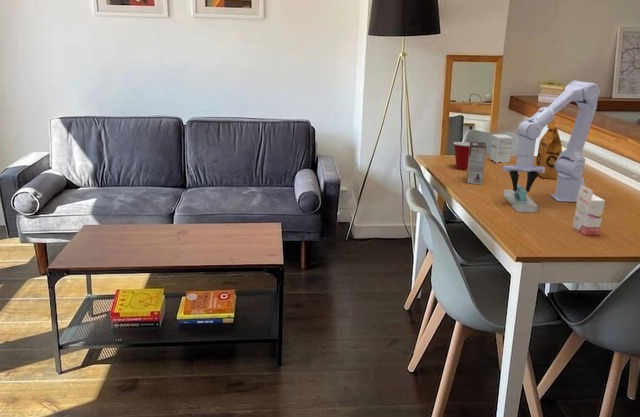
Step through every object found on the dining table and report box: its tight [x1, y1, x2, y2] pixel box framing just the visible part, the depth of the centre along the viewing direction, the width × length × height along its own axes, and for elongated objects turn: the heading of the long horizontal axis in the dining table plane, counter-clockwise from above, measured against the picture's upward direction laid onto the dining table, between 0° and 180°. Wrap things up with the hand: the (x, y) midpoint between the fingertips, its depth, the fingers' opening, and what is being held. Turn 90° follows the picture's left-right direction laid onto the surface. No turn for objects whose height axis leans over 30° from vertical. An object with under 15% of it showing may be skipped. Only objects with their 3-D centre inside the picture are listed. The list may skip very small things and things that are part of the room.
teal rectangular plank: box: [515, 184, 528, 201], centre depth 217 cm, size 2×8×6 cm, turn 177°
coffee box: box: [466, 141, 487, 185], centre depth 244 cm, size 9×6×16 cm
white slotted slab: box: [503, 189, 539, 213], centre depth 217 cm, size 7×20×2 cm, turn 176°
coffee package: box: [535, 123, 563, 180], centre depth 254 cm, size 10×12×22 cm
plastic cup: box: [452, 141, 470, 170], centre depth 266 cm, size 11×11×12 cm
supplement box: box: [489, 134, 514, 163], centre depth 280 cm, size 7×7×13 cm
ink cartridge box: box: [572, 185, 606, 236], centre depth 188 cm, size 9×5×15 cm, turn 5°
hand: (521, 191), depth 216 cm, fingers open, 4 cm apart
